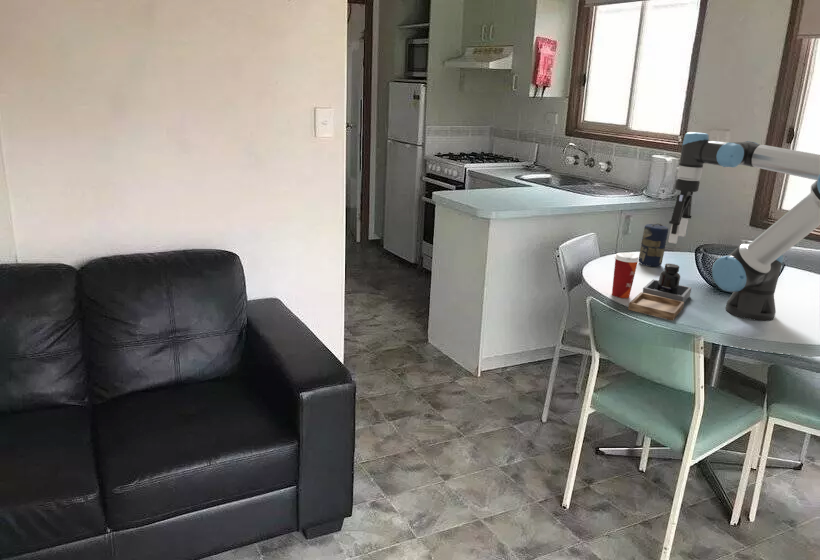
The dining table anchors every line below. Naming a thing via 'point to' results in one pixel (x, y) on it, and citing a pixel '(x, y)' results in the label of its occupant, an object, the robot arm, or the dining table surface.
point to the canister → (653, 245)
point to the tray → (656, 306)
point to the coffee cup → (624, 274)
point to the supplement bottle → (669, 279)
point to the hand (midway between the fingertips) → (676, 239)
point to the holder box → (681, 290)
